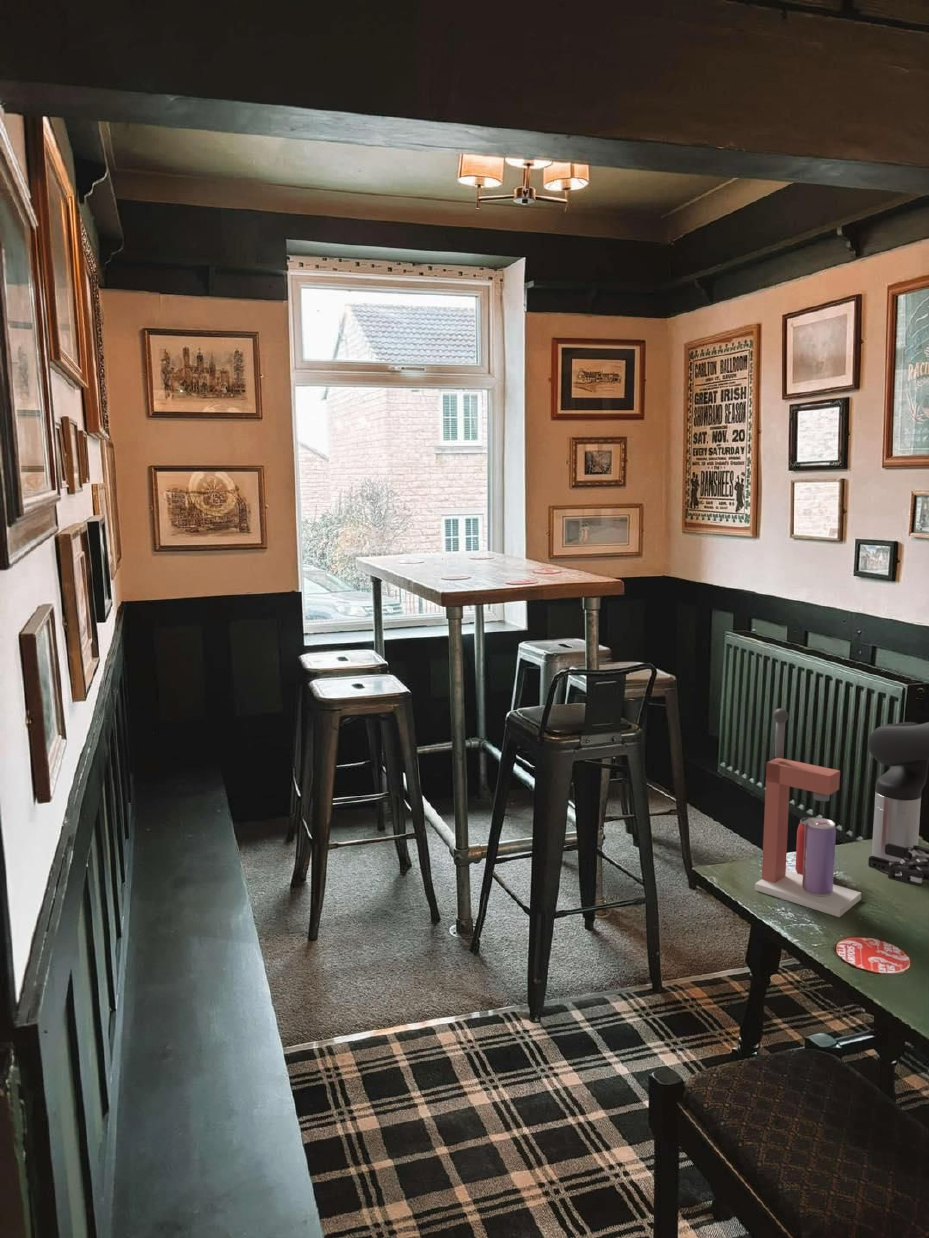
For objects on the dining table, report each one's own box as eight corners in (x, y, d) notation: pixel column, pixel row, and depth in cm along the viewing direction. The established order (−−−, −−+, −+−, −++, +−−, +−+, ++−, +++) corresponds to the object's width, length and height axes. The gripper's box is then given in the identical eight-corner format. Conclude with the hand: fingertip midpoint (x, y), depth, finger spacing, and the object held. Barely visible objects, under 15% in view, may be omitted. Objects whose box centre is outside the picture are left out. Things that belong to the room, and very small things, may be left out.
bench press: (778, 874, 201) (785, 702, 195) (860, 899, 188) (871, 717, 183) (754, 889, 193) (762, 712, 188) (839, 917, 181) (849, 727, 175)
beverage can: (835, 898, 185) (838, 828, 183) (804, 895, 187) (807, 826, 185) (829, 886, 191) (833, 818, 189) (799, 883, 192) (803, 816, 190)
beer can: (832, 874, 201) (835, 822, 199) (816, 882, 197) (818, 829, 195) (806, 864, 206) (808, 814, 204) (789, 872, 202) (791, 820, 200)
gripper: (980, 848, 173) (891, 826, 184) (956, 871, 163) (864, 846, 174) (977, 885, 174) (889, 861, 185) (953, 910, 164) (862, 883, 175)
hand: (877, 854), depth 180 cm, fingers open, 8 cm apart
